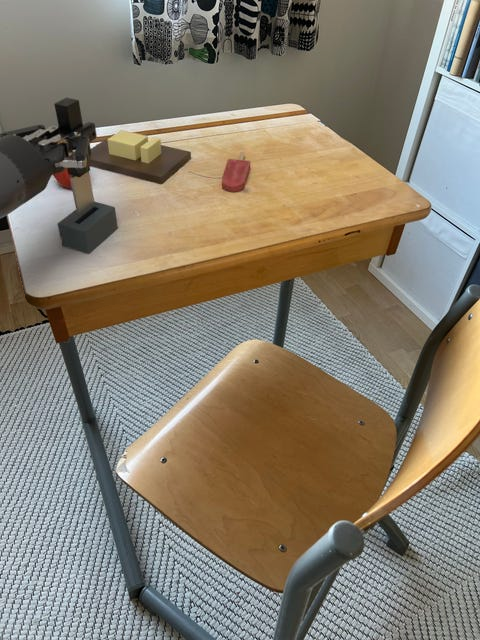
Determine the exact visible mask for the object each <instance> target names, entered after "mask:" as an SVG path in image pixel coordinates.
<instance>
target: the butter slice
mask: <svg viewBox="0 0 480 640" xmlns="http://www.w3.org/2000/svg"><path fill="white" fill-rule="evenodd" d="M161 140H162V139H161V138H158V137H152V138H150V139H148V142H146V143H145V144H144V145H142V146H141V147H140V151H141V162H144V163H148V164H149V163H150V162H151V161H153V160H154V159H155V158H156V157H158V156H159V155H160V154H161V145H162V142H161Z"/></svg>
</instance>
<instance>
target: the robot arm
mask: <svg viewBox="0 0 480 640" xmlns="http://www.w3.org/2000/svg"><path fill="white" fill-rule="evenodd" d="M97 138H98V135H97V128H96V124H95V123H94V122H92V121H88V122H86V123H84V124H83V126H81V127H79V128H78V129H76V130H74V131H73V132H71V133H69V134H67V135H64V134H60V130H59V125H58V126H57V125H50V126H48V127H47V128H46V126H45V125H44V124H36V125H31V126H26V127H23V128H19V129H14V130H8V131H4V132H1V133H0V219H2V218H4V217H6V216H8V215H10V214H11V213H13V212H14V211H15V210H17V209H19V208H20V207H22V206H23V205H24V204H26V203H27V202H29V201H30V200H33V198H35V197H36V196H37V195H39V194H41V193H42V192H44V191H45V190H46V188H47V186H48V184H49V182H50V180H51V178H52V177H53V175H54V174H57V173H61V172H63V171H64V170H65V168H77V170H78V173H80V174H84V173H87V171H88V167H89V163H90V159H91V155H92V154H91V148H92V147H91V142H93V141H95V140H96V139H97ZM72 141H73V147H71V142H72Z"/></svg>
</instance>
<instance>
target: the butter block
mask: <svg viewBox="0 0 480 640" xmlns="http://www.w3.org/2000/svg"><path fill="white" fill-rule="evenodd" d="M114 134H115V135H113V134H112V135H113V136H112V137H110V136H109V137H110V138H109V139H107V138H106V139H107V140H108V148H109V154H111V155H115V156H119V157H123V158H128V159H132V160H137V159H138V158H140V157H141V151H140V147H141V146H142V145H144V144H145V143H146V142H148V141H149V136H148V135H144V134H140V133H136V132H132V131H128V130H124V129H123V130H120V131H118V132H116V133H114Z"/></svg>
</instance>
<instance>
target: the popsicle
mask: <svg viewBox="0 0 480 640" xmlns="http://www.w3.org/2000/svg"><path fill="white" fill-rule="evenodd" d="M244 157H245V152H244V151H240V152H239V155H238V158H237V159H235V158H227V160H226V164H225V167H224V171H223V175H222V179H221V187H222V189H223V190H224V191H227V192H231V193H236V192H241V191H242V190H243V189H245V186H246V183H247V181H248V177H249V173H250V170H251V161H250V160H244Z"/></svg>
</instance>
